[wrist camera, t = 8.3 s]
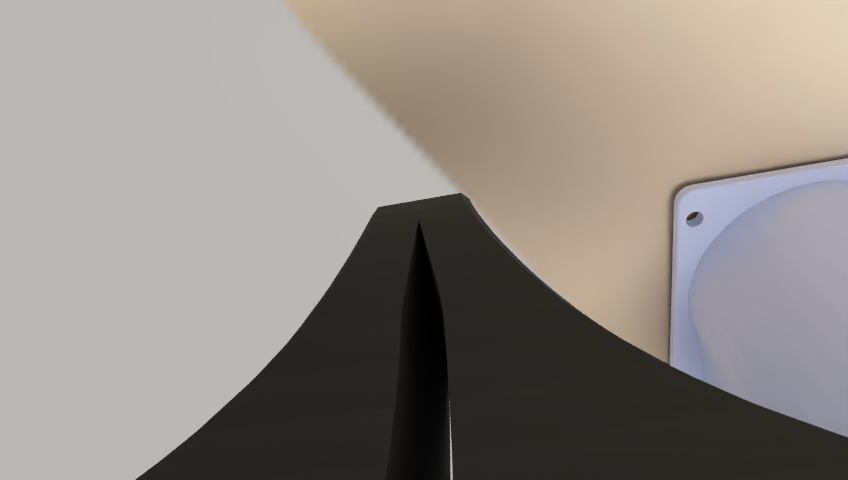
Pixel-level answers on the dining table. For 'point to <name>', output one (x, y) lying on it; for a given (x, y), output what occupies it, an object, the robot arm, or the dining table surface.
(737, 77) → the dining table surface
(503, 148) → the dining table surface
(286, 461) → the robot arm
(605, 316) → the dining table surface
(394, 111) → the dining table surface
